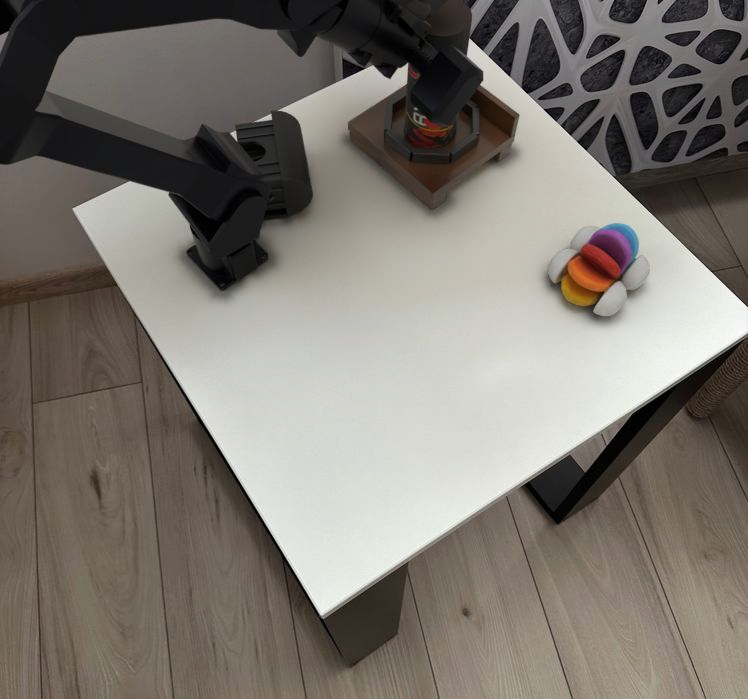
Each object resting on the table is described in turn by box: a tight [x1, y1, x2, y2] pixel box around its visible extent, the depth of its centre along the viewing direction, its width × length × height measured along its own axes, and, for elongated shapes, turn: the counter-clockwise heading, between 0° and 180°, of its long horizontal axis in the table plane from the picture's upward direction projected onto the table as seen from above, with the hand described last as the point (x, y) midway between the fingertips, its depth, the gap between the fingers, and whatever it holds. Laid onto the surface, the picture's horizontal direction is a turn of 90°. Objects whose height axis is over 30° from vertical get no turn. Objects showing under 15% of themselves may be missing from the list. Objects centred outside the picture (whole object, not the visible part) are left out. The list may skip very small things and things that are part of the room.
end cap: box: [234, 110, 314, 222], centre depth 84 cm, size 10×7×7 cm
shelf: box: [347, 83, 521, 211], centre depth 87 cm, size 14×13×6 cm
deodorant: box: [404, 0, 473, 148], centre depth 81 cm, size 6×6×15 cm
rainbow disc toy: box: [547, 222, 651, 317], centre depth 78 cm, size 8×10×7 cm
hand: (443, 67), depth 80 cm, fingers open, 9 cm apart
